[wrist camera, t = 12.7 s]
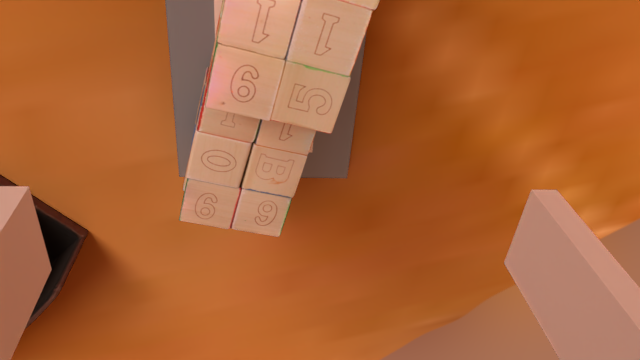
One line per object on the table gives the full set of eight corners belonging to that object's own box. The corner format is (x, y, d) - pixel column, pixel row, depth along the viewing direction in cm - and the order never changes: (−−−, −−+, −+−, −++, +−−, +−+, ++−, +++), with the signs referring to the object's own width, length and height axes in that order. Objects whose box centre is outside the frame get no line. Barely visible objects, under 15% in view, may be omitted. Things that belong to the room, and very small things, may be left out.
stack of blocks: (273, 160, 39) (281, 275, 29) (190, 142, 38) (167, 257, 28) (375, -161, 29) (442, -155, 18) (264, -205, 27) (271, -226, 17)
